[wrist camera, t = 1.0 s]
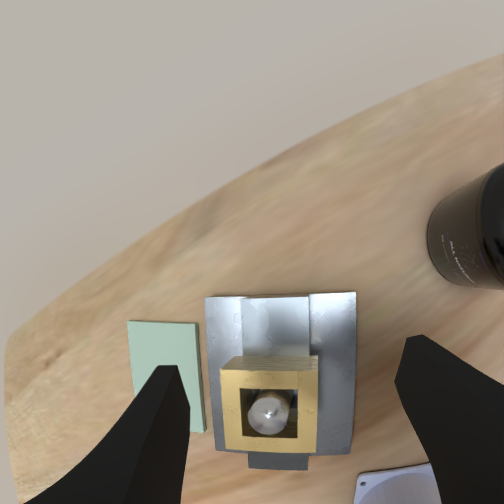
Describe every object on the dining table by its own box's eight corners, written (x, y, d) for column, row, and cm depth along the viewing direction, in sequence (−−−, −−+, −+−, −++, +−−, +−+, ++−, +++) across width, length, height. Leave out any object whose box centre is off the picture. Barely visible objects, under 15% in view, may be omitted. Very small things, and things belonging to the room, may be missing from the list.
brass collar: (316, 428, 17) (315, 452, 14) (238, 426, 18) (225, 448, 15) (318, 355, 17) (317, 370, 14) (234, 355, 18) (219, 369, 15)
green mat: (206, 429, 22) (203, 433, 21) (142, 419, 23) (138, 421, 22) (197, 322, 23) (194, 324, 22) (131, 320, 24) (127, 321, 23)
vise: (348, 444, 19) (355, 499, 13) (221, 441, 21) (189, 489, 15) (352, 290, 20) (369, 298, 14) (211, 296, 22) (167, 303, 16)
